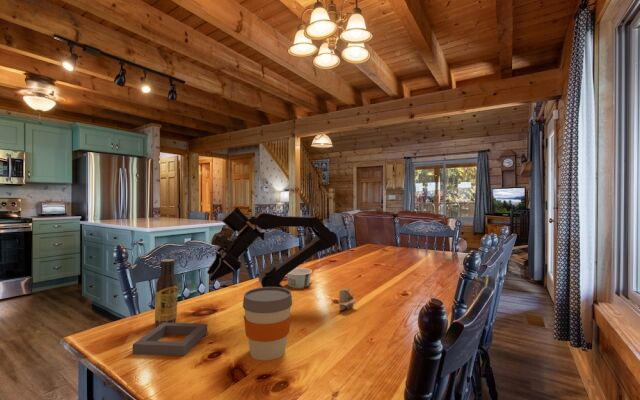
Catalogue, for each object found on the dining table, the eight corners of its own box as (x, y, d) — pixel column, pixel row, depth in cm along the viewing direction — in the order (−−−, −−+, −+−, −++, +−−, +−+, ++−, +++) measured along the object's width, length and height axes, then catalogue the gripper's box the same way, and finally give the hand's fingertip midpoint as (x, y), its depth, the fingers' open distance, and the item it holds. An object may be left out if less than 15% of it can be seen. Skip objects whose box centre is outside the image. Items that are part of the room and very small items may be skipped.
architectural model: (356, 309, 111) (356, 289, 111) (345, 315, 106) (345, 293, 106) (348, 307, 114) (348, 287, 113) (337, 312, 108) (337, 291, 108)
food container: (317, 284, 142) (317, 270, 142) (301, 291, 132) (301, 275, 132) (296, 280, 148) (296, 266, 148) (279, 286, 138) (279, 271, 138)
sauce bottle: (161, 329, 93) (160, 263, 93) (150, 324, 97) (150, 260, 97) (181, 322, 99) (181, 259, 98) (171, 317, 102) (171, 257, 102)
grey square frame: (207, 332, 91) (207, 323, 91) (184, 355, 78) (184, 345, 78) (163, 330, 92) (163, 322, 92) (132, 353, 79) (132, 344, 79)
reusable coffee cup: (270, 370, 72) (270, 305, 71) (232, 355, 78) (232, 295, 78) (301, 347, 82) (301, 291, 82) (265, 336, 89) (266, 284, 89)
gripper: (222, 222, 112) (189, 255, 108) (230, 227, 95) (191, 266, 91) (244, 243, 116) (213, 276, 111) (255, 251, 99) (219, 290, 94)
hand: (209, 276), depth 102 cm, fingers open, 9 cm apart
